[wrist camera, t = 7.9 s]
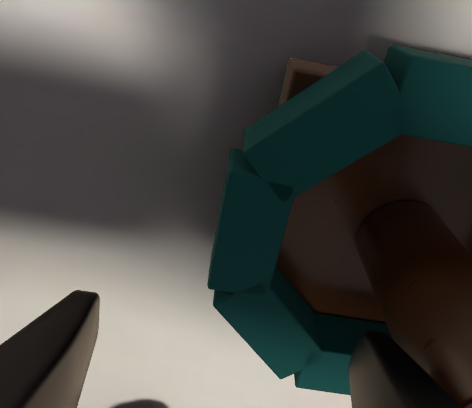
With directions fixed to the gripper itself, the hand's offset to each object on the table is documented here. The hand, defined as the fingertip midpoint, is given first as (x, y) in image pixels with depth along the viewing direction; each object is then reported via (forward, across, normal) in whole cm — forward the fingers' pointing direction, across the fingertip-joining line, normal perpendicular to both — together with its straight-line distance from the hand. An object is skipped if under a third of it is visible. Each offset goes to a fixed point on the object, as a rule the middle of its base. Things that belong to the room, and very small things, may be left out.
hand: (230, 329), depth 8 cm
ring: (+4, -4, 0) cm, 6 cm away
